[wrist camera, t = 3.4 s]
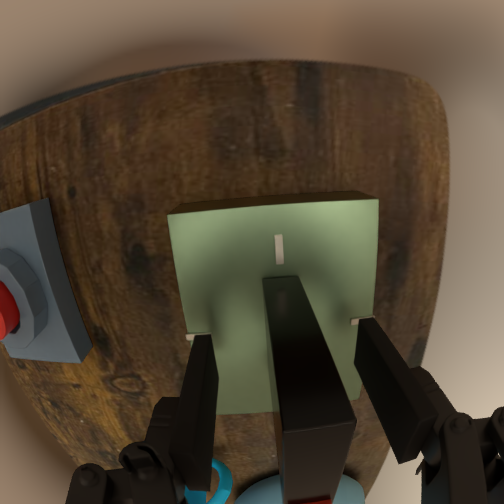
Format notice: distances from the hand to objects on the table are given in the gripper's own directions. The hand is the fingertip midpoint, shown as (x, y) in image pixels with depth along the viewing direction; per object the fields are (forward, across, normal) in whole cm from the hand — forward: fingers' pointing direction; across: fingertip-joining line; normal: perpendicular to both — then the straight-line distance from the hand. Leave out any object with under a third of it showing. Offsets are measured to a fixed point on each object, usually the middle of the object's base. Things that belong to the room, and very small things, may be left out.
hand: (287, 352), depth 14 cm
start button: (+1, -18, +2) cm, 18 cm away
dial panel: (+5, 0, 0) cm, 5 cm away
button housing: (+5, -18, +2) cm, 18 cm away
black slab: (+2, 0, 0) cm, 2 cm away
